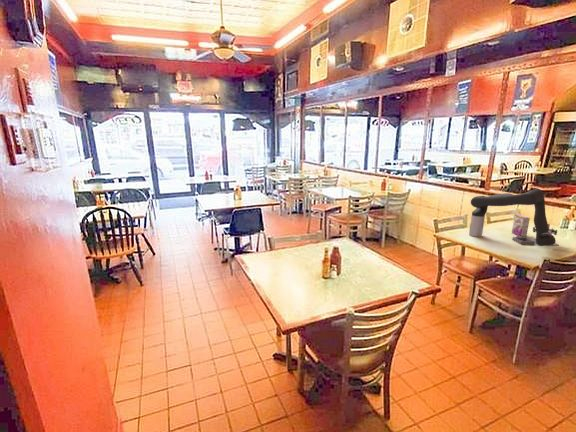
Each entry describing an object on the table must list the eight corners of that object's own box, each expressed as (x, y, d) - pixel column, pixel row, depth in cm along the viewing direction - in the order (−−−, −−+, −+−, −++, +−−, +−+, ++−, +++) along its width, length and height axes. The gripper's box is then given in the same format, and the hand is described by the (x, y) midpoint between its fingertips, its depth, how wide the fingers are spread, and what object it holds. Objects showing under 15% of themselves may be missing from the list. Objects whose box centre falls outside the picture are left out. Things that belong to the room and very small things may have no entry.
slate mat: (526, 239, 247) (526, 238, 246) (545, 239, 246) (545, 238, 245) (539, 245, 233) (539, 244, 233) (558, 245, 232) (558, 244, 232)
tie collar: (510, 239, 248) (510, 236, 247) (523, 239, 247) (524, 236, 246) (520, 244, 236) (521, 241, 235) (534, 244, 235) (534, 241, 235)
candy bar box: (511, 232, 263) (514, 214, 258) (517, 232, 262) (520, 214, 258) (520, 237, 252) (523, 217, 248) (526, 237, 252) (530, 217, 247)
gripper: (558, 230, 220) (557, 225, 233) (533, 227, 229) (533, 222, 241) (556, 240, 222) (555, 234, 235) (531, 237, 231) (532, 231, 243)
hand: (544, 228), depth 238 cm, fingers open, 8 cm apart
